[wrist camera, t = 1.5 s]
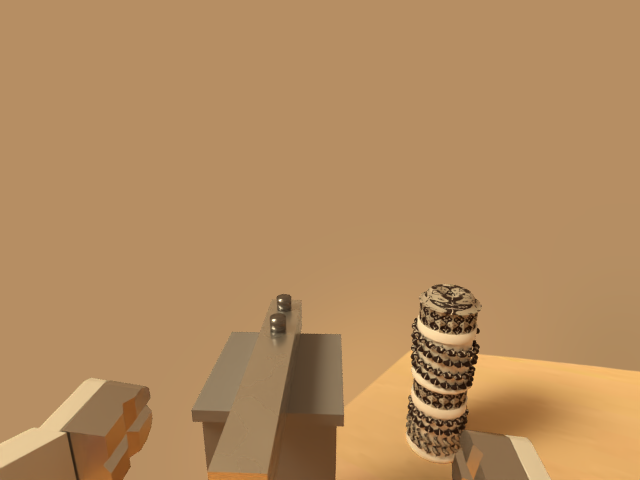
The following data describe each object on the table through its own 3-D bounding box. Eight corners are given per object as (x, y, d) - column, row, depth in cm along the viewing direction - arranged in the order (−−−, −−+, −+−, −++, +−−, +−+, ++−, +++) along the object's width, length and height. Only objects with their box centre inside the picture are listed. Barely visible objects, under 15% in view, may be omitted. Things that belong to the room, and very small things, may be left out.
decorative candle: (405, 413, 62) (416, 275, 55) (463, 425, 59) (482, 282, 53) (400, 456, 54) (413, 300, 47) (467, 472, 51) (491, 310, 44)
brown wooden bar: (273, 325, 38) (271, 288, 37) (301, 326, 38) (301, 289, 37) (211, 517, 19) (205, 452, 18) (269, 519, 19) (266, 454, 18)
